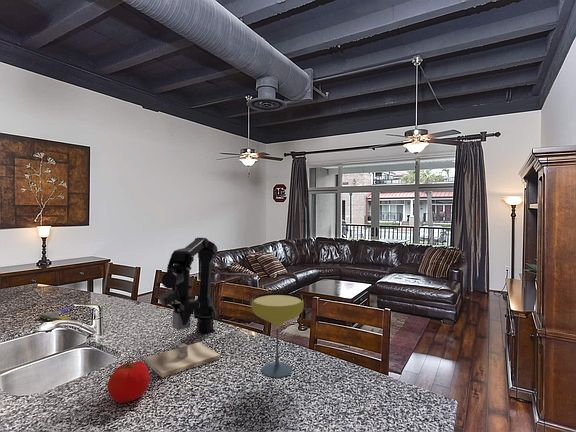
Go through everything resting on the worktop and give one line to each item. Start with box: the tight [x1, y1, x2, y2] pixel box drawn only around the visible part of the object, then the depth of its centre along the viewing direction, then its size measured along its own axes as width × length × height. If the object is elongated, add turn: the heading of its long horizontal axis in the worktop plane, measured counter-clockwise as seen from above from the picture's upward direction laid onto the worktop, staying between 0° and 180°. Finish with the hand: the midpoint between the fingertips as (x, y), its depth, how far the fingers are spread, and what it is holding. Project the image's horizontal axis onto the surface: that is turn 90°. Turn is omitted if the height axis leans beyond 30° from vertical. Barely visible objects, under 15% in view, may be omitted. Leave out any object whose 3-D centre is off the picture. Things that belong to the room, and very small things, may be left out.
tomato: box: [106, 360, 150, 404], centre depth 103 cm, size 11×13×10 cm
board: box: [144, 342, 221, 379], centre depth 129 cm, size 22×16×6 cm
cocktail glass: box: [250, 292, 305, 379], centre depth 121 cm, size 18×18×25 cm
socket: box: [172, 308, 191, 331], centre depth 135 cm, size 5×5×7 cm
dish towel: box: [37, 303, 104, 320], centre depth 181 cm, size 18×24×3 cm
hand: (181, 323), depth 135 cm, fingers closed on socket, 5 cm apart
